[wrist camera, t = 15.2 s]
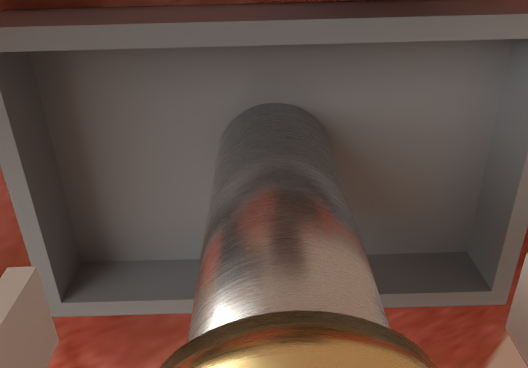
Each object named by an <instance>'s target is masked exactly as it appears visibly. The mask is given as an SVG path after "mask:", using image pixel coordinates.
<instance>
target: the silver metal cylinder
mask: <svg viewBox="0 0 528 368" xmlns="http://www.w3.org/2000/svg"><path fill="white" fill-rule="evenodd" d="M160 368H437V366H436V365H435V364H434V362H433V361H432V360H431V358H430V357H429V356H428V355H427V354H426V353H425V352H424V351H423V350H422V349H421V348H419V347H418V346H417V345H416V344H415V343H413V342H412V341H410V340H409V339H407V338H406V337H404V336H403V335H401V334H399V333H397V332H395V331H393V330H391V329H390V326H389V323H388V320H387V317H386V314H385V311H384V308H383V305H382V301H381V298H380V295H379V292H378V289H377V286H376V283H375V280H374V277H373V274H372V271H371V267H370V264H369V261H368V258H367V255H366V252H365V249H364V246H363V243H362V240H361V237H360V233H359V230H358V227H357V224H356V221H355V218H354V215H353V212H352V209H351V206H350V203H349V200H348V196H347V193H346V190H345V187H344V184H343V181H342V178H341V175H340V172H339V169H338V166H337V162H336V159H335V156H334V153H333V150H332V147H331V144H330V141H329V138H328V135H327V133H326V131H325V129H324V128H323V126H322V125H321V123H320V122H319V121H318V120H317V119H316V118H315V117H314V116H312V115H311V114H310V113H308V112H307V111H305V110H303V109H301V108H299V107H297V106H293V105H290V104H284V103H266V104H261V105H257V106H254V107H251V108H249V109H247V110H245V111H243V112H242V113H240V114H239V115H238V116H236V117H235V118H234V119H233V120H232V121H231V122H230V123H229V125H228V126H227V127H226V129H225V130H224V132H223V134H222V136H221V138H220V142H219V145H218V151H217V158H216V164H215V170H214V177H213V183H212V189H211V196H210V202H209V208H208V215H207V221H206V227H205V233H204V240H203V246H202V252H201V259H200V265H199V271H198V278H197V284H196V290H195V297H194V303H193V309H192V315H191V322H190V328H189V334H188V341H187V344H185V345H184V346H182V347H181V348H180V349H178V350H177V351H175V352H174V353H173V354H172V355H171V356H170V357H169V358H168V359H167V360H166V361H165V362H164V363H163V364H162V365H161V367H160Z"/></svg>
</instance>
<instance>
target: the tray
mask: <svg viewBox="0 0 528 368" xmlns="http://www.w3.org/2000/svg"><path fill="white" fill-rule="evenodd" d="M266 103H284V104H290V105H293V106H297V107H299V108H301V109H303V110H305V111H307V112H308V113H310V114H311V115H312V116H314V117H315V118H316V119H317V120H318V121H319V122H320V123H321V125H322V126H323V128H324V129H325V131H326V133H327V135H328V138H329V141H330V144H331V147H332V150H333V153H334V156H335V159H336V162H337V166H338V169H339V172H340V175H341V178H342V181H343V184H344V187H345V190H346V193H347V196H348V200H349V203H350V206H351V209H352V212H353V215H354V218H355V221H356V224H357V227H358V230H359V233H360V237H361V240H362V243H363V246H364V249H365V252H366V255H367V258H368V261H369V264H370V267H371V271H372V274H373V277H374V280H375V283H376V286H377V289H378V292H379V295H380V298H381V301H382V305H383V308H400V307H436V306H473V305H506V303H507V299H508V295H509V292H510V288H511V285H512V281H513V278H514V274H515V270H516V267H517V263H518V260H519V256H520V253H521V249H522V245H523V242H524V238H525V235H526V231H527V228H528V0H375V1H336V2H296V3H257V4H217V5H178V6H138V7H99V8H59V9H20V10H4V11H1V12H0V166H1V169H2V172H3V176H4V179H5V182H6V185H7V188H8V192H9V195H10V198H11V201H12V205H13V208H14V211H15V214H16V217H17V221H18V224H19V227H20V230H21V234H22V237H23V240H24V243H25V247H26V250H27V253H28V256H29V259H30V263H31V266H32V267H37V270H38V273H39V277H40V280H41V283H42V286H43V290H44V293H45V296H46V299H47V303H48V306H49V309H50V312H51V316H52V317H69V316H106V315H142V314H179V313H192V309H193V303H194V297H195V290H196V284H197V278H198V271H199V265H200V259H201V252H202V246H203V240H204V233H205V227H206V221H207V215H208V208H209V202H210V196H211V189H212V183H213V177H214V170H215V164H216V158H217V151H218V145H219V142H220V138H221V136H222V134H223V132H224V130H225V129H226V127H227V126H228V125H229V123H230V122H231V121H232V120H233V119H234V118H235V117H236V116H238V115H239V114H240V113H242V112H243V111H245V110H247V109H249V108H251V107H254V106H257V105H261V104H266Z"/></svg>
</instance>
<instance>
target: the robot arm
mask: <svg viewBox="0 0 528 368" xmlns="http://www.w3.org/2000/svg"><path fill="white" fill-rule="evenodd" d="M505 330H506V331H507V333H508V335H509V336H510V338H511V339H512V341H513V343H514V344H515V346H516V348H517V350H518V351H519V353H520V355H521V356H522V358H523V359H524V361H525V363H526V365H527V366H528V253H526V257H525V260H524V264H523V267H522V270H521V274H520V277H519V281H518V284H517V288H516V291H515V295H514V298H513V301H512V305H511V308H510V312H509V315H508V319H507V322H506V326H505ZM58 343H59V339H58V335H57V332H56V329H55V325H54V322H53V319H52V316H51V312H50V309H49V306H48V303H47V299H46V296H45V293H44V290H43V286H42V283H41V280H40V277H39V273H38V270H37V267H8V268H7V269H6V270H5V272H4V273H3V275H2V276H1V278H0V368H47V367H48V365H49V363H50V360H51V358H52V356H53V354H54V352H55V349H56V347H57V345H58Z"/></svg>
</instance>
